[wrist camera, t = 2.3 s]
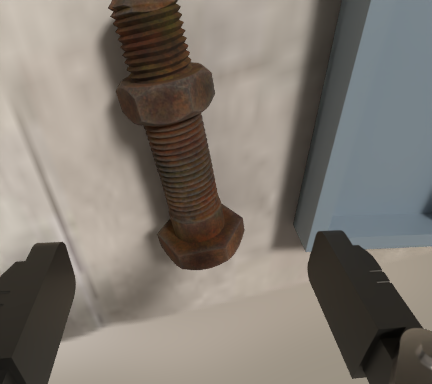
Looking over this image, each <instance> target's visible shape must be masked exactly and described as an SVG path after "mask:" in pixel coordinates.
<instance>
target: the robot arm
mask: <svg viewBox="0 0 432 384" xmlns="http://www.w3.org/2000/svg"><path fill="white" fill-rule="evenodd" d="M308 277H309V281H310V283H311V285H312V288H313V290H314V292H315V295H316V297H317V299H318V301H319V304H320V306H321V308H322V311H323V313H324V315H325V317H326V320H327V322H328V324H329V327H330V329H331V331H332V333H333V336H334V338H335V340H336V343H337V345H338V347H339V349H340V351H341V354H342V356H343V359H344V361H345V363H346V365H347V368H348V370H349V372H350V375H351V377H352V379H353V378H363V377H367V379H368V382H369V384H432V331H430V330H427V329H424V328H423V327H422V326H421V325H420V323H419V322H418V321H417V319H416V318H415V316H414V315H413V313H412V312H411V310H410V309H409V307H408V306H407V305H406V303H405V302H404V300H403V299H402V297H401V296H400V295H399V293H398V292H397V290H396V289H395V287H394V286H393V284H392V283H390V282H389V279H388V277H387V276H386V274H385V273H384V272H382V269H381V267H380V266H379V264H378V263H377V262H376V260H375V259H374V257H373V256H372V255H371V254H369V253H368V252H367V251H366V250H364V249H363V248H362V247H361V246H359V245H352V243H351V242H350V240H349V238H348V237H347V235H346V234H345V233H344V232H343V231H342V230H331V231H318V232H317V234H316V236H315V240H314V243H313V247H312V251H311V254H310V258H309V262H308ZM75 287H76V281H75V275H74V271H73V268H72V265H71V261H70V258H69V255H68V251H67V248H66V245H65V244H64V243H63V242H53V243H36V244H35V245H34V246H33V247H32V249H31V251H30V253H29V255H28V257H27V259H26V261H21V262H15V263H14V264H13V265H12V266H11V267H10V268H9V269H8V270H7V271H6V272H5V273H3V274H2V275H1V277H0V384H48V381H49V378H50V374H51V371H52V368H53V364H54V361H55V357H56V355H57V351H58V348H59V345H60V341H61V338H62V335H63V331H64V328H65V325H66V322H67V318H68V315H69V312H70V308H71V305H72V302H73V298H74V295H75Z"/></svg>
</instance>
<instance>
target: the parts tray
mask: <svg viewBox="0 0 432 384" xmlns="http://www.w3.org/2000/svg"><path fill="white" fill-rule="evenodd" d="M293 225H294V227H295V230H296V232H297V234H298V236H299V238H300V241H301V243H302V245H303V247H304V249H305V252H311V251H312V247H313V243H314V240H315V236H316V234H317V232H318V231H331V230H342V231H343V232H344V233H345V234H346V235H347V237H348V238H349V240H350V242H351V243H352V245H359V246H361V247H362V248H363V249H381V248H404V247H427V246H432V0H342V2H341V7H340V12H339V16H338V21H337V25H336V30H335V35H334V39H333V44H332V48H331V53H330V58H329V62H328V67H327V71H326V76H325V81H324V85H323V90H322V94H321V99H320V104H319V108H318V113H317V117H316V122H315V127H314V131H313V136H312V140H311V145H310V150H309V154H308V159H307V163H306V168H305V173H304V177H303V182H302V186H301V191H300V196H299V200H298V205H297V209H296V214H295V219H294V223H293Z"/></svg>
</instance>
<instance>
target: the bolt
mask: <svg viewBox="0 0 432 384" xmlns="http://www.w3.org/2000/svg"><path fill="white" fill-rule="evenodd" d="M177 1H178V0H112V2H111V4H110V5H109V7H108V9H110V10H112V11H114V12H113V13H112V15H111V16H110V17H112V18H114V19H116V21H115V22H114V23H113V24H114V25H115V26H117V27H118V29H117V31H116V33H117V34H119V35H121V36H120V37H119V39H118V40H119V41H120V42H121V43H123V45H122V46H121V47H120V48H121V49H123V50H124V51H125V52H124V54H123V55H122V56H124V57H126V58H127V60H126V61H125V63H126V64H127V65H129V67H128V68H127V71H129V72H131V74H130V75H129V77H127V78H125V79H123V80H122V81H121V82H120V84H119V86H118V88H117V90H116V93H117V96H118V99H119V102H120V105H121V108H122V111H123V113H124V114H125V115H126V116H127V117H128V119H130V120H131V121H132V122H133V123H135V124H138V125H143V126H144V128H145V129H146V130H147V131H146V134H147V135H148V140H149V141H150V143H149V144H150V146H151V151H152V152H153V156H154V160H155V162H156V166H157V170H158V172H159V175H160V177H161V178H160V179H161V181H162V186H163V189H164V192H165V196H166V199H167V203H168V206H169V215H170V219H169V221H168V222H167V223H166V224H165V225H164V227H163V228H162V229H161V230H160V231H159V233H158V234H157V235H158V238H159V241H160V244H161V246H162V248H163V249H164V251H165V252H166V254H167V255H168V256H169V257H170V258H171V260H172V261H173V262H174V263H175V264H176V265H177V266H178V267H180V268H182V269H188V270H203V269H209V268H212V267H215V266H218V265H220V264H222V263H224V262H226V261H228V260H229V259H230V258H231V257H232V256H233V255H234V254H235V252H236V250H237V249H238V247H239V245H240V242H241V240H242V237H243V233H244V224H243V218H242V217H241V216H239V215H238V214H236V213H235V212H233V211H232V210H230V209H229V208H227V207H226V206H224V205H223V204H221V201H220V198H219V197H218V193H217V188H216V183H215V178H214V174H213V168H212V163H211V158H210V154H209V149H208V143H207V138H206V134H205V129H204V126H203V125H204V124H203V121H202V115H201V112H203V111H204V110H205V109H206V108H207V107H208V106H209V105H210V103H211V101H212V99H213V97H214V95H215V90H214V84H213V79H212V73H211V72H210V71H209V70H208V69H206V68H205V67H204V66H203V65H202V64H199V63H192V62H191V59H190V58H189V57H188V55H189V53H190V52H189V51H187V50H186V49H187V47H188V45H187V44H185V43H184V42H185V40H186V39H187V38H186V37H184V36H182V35H183V34H184V32H185V30H184V29H182V28H181V26H182V24H183V23H184V22H182V21H180V20H179V19H180V17H181V16H182V14H181V13H179V12H177V11H178V10H179V9H180V7H181V6H179V5H178V4H176V2H177Z"/></svg>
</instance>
